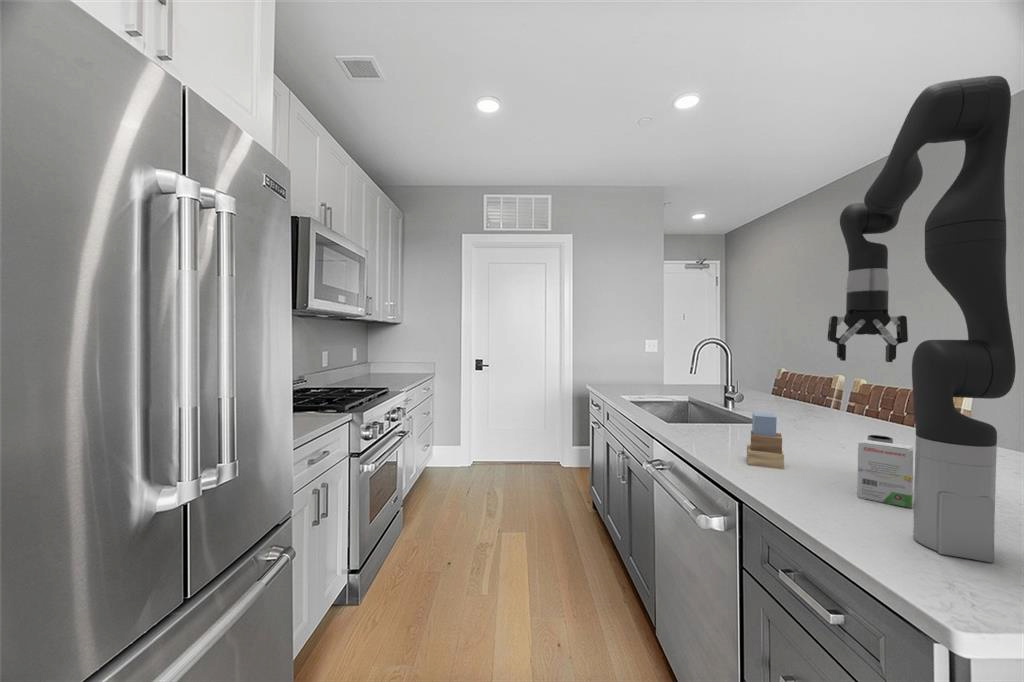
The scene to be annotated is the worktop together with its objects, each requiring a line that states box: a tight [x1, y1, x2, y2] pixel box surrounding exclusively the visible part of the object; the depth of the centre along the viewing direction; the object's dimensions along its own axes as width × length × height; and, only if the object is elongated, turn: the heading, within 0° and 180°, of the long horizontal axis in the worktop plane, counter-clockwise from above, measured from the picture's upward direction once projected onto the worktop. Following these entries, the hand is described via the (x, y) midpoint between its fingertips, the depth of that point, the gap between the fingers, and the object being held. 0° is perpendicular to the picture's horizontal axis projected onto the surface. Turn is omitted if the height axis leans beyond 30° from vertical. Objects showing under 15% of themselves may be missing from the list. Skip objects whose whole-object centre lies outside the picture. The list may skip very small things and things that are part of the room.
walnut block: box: [750, 430, 783, 454], centre depth 118 cm, size 7×7×4 cm
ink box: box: [856, 439, 914, 509], centre depth 92 cm, size 8×5×12 cm, turn 44°
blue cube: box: [751, 412, 777, 437], centre depth 118 cm, size 5×5×5 cm
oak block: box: [746, 443, 785, 470], centre depth 118 cm, size 8×8×4 cm
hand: (865, 361), depth 102 cm, fingers open, 8 cm apart
